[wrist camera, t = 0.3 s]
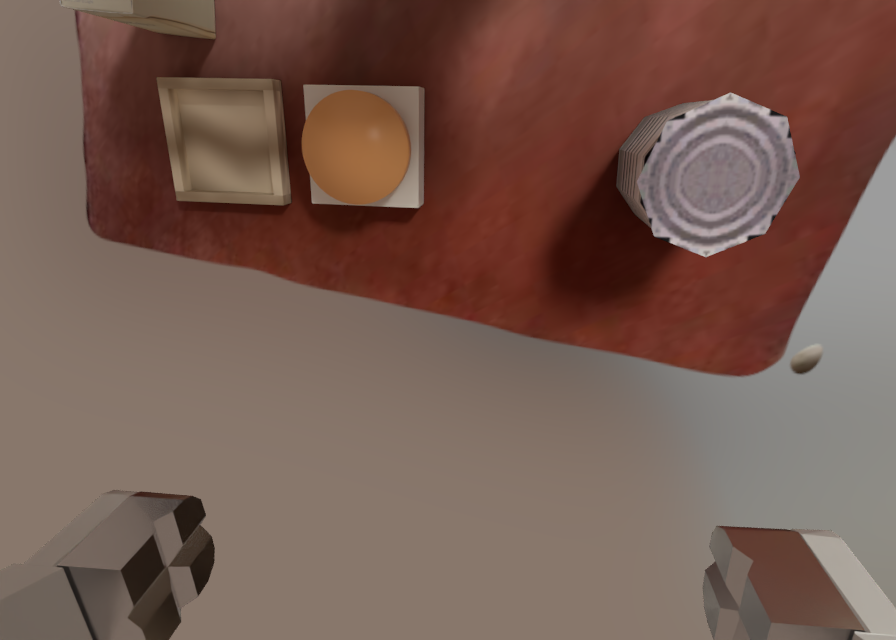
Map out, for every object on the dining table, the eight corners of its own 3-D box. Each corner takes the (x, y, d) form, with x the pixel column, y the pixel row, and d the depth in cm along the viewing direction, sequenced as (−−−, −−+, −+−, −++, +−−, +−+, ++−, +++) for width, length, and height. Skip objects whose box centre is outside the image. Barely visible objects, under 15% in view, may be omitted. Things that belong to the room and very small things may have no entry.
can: (643, 86, 47) (681, 76, 36) (762, 123, 47) (837, 124, 36) (595, 206, 52) (616, 229, 40) (704, 240, 51) (754, 273, 40)
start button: (304, 89, 47) (297, 88, 46) (411, 91, 46) (407, 90, 45) (312, 200, 51) (305, 202, 49) (411, 204, 50) (408, 206, 48)
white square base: (315, 86, 51) (303, 84, 48) (424, 88, 50) (418, 86, 47) (322, 199, 55) (311, 203, 52) (423, 203, 54) (418, 208, 51)
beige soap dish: (168, 78, 52) (156, 77, 51) (280, 80, 51) (271, 78, 49) (188, 198, 57) (176, 200, 55) (291, 202, 55) (283, 205, 54)
